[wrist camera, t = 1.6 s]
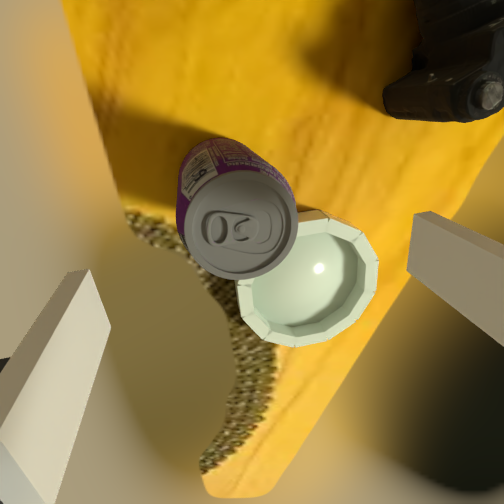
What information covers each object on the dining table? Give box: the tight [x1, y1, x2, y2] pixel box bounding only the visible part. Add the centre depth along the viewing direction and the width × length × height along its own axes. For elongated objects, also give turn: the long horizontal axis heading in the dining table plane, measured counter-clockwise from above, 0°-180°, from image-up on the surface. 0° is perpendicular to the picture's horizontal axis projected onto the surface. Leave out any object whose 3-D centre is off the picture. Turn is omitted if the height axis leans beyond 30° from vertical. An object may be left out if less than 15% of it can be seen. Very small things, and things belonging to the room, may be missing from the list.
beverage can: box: [176, 138, 298, 280], centre depth 23 cm, size 7×7×12 cm
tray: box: [234, 210, 379, 347], centre depth 32 cm, size 14×14×2 cm
